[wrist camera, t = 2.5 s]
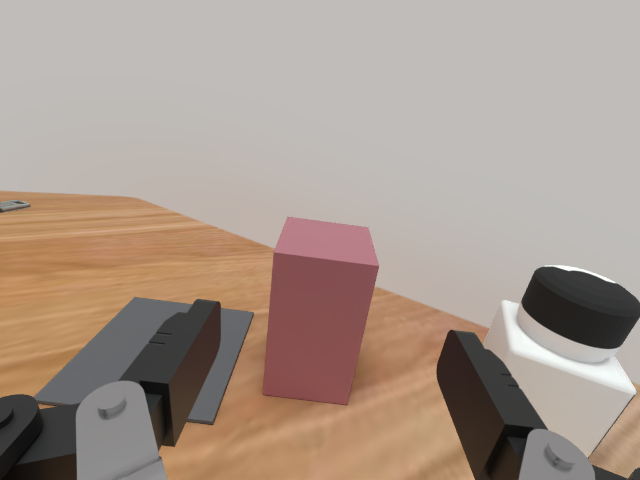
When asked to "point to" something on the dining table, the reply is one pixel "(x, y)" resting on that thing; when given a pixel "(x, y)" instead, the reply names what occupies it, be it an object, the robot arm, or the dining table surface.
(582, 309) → the medicine bottle
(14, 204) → the strap clip
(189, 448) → the dining table surface
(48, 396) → the mat
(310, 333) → the tall pink pillar
